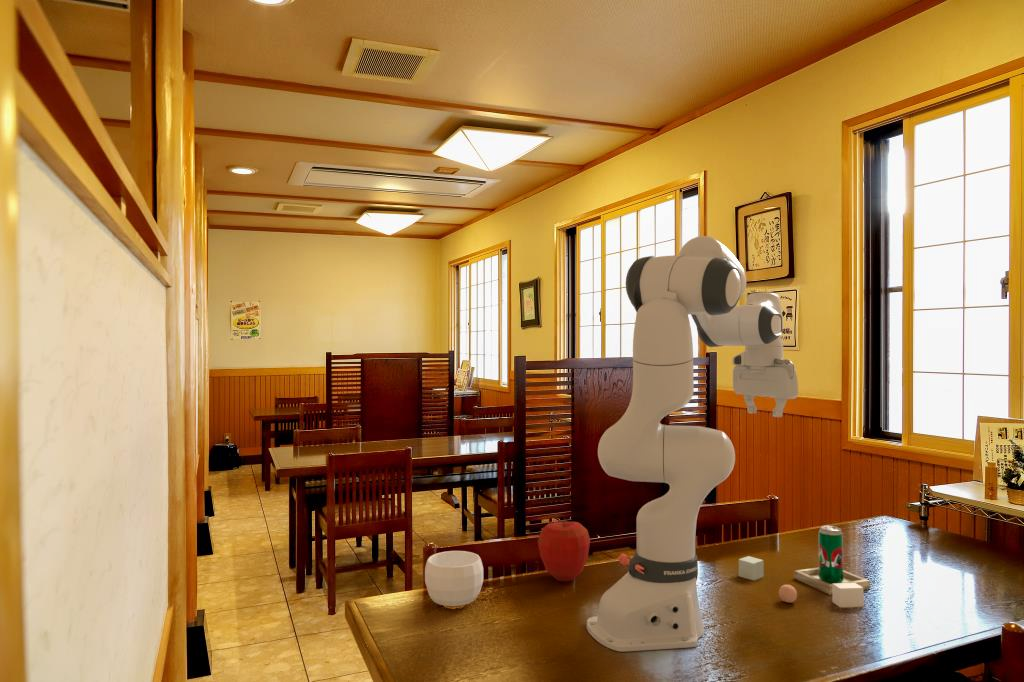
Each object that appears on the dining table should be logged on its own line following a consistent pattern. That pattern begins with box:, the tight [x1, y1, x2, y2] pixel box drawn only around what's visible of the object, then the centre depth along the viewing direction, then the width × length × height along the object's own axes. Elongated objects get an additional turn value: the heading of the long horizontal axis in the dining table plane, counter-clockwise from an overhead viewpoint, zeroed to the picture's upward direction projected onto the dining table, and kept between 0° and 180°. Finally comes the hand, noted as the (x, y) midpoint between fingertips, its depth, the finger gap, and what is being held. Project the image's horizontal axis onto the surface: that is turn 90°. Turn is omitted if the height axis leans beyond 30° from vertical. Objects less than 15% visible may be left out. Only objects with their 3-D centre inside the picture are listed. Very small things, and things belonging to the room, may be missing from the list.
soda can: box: [817, 525, 844, 584], centre depth 156 cm, size 5×5×12 cm
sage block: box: [738, 555, 765, 581], centre depth 161 cm, size 4×4×4 cm
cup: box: [424, 550, 484, 607], centre depth 145 cm, size 12×12×10 cm
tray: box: [793, 566, 871, 596], centre depth 156 cm, size 11×11×2 cm
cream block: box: [832, 583, 864, 608], centre depth 143 cm, size 5×3×4 cm, turn 93°
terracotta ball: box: [778, 584, 798, 604], centre depth 145 cm, size 4×4×4 cm
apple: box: [537, 518, 591, 582], centre depth 160 cm, size 12×12×14 cm
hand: (764, 414), depth 168 cm, fingers open, 8 cm apart
